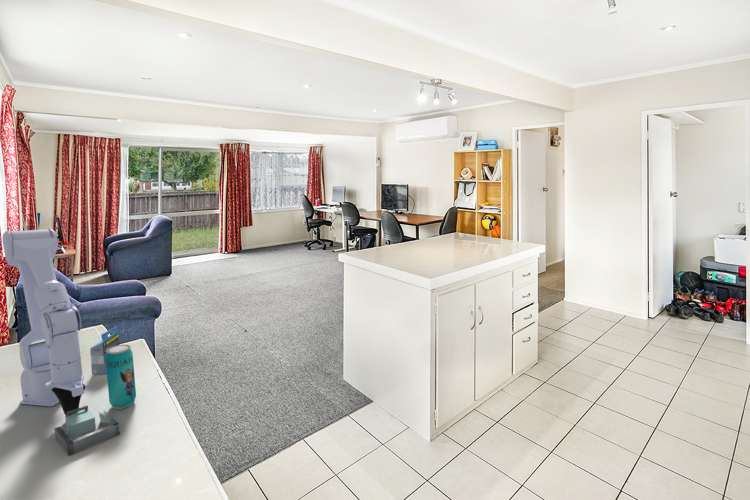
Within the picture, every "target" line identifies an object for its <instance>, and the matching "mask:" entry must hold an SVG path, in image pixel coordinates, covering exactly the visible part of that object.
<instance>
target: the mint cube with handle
mask: <svg viewBox="0 0 750 500" xmlns="http://www.w3.org/2000/svg"><path fill="white" fill-rule="evenodd" d="M75 412H76V413H75ZM72 413H73V414H72ZM66 414H67V416H66V415H65V425H66V426H65V427H66V429H67V431H68V433H69V435H70V436H71V438H74V437H76V436H77V437H78V436H79V435H82V434H85V433H88V432H91V431H94V430H96V429H97V426H96V425H97V424H96V417H95V415H94V414H93V413H92V411H91V409H90V408H89V405H84V406H81V407H80V406H79V408H77V409H74V410H71V411H68V412H66Z"/></svg>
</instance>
